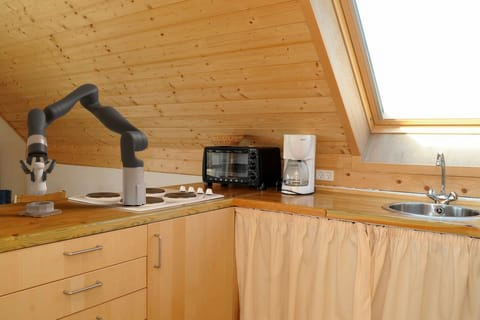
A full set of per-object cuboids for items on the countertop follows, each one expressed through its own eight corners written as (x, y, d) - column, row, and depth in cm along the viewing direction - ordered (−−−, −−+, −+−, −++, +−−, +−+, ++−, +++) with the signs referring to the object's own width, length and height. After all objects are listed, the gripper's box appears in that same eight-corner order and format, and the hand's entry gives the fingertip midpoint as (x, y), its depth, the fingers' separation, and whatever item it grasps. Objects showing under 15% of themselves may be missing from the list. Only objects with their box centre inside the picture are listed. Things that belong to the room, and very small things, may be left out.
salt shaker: (27, 195, 158) (26, 162, 157) (39, 193, 163) (38, 161, 162) (38, 196, 156) (37, 163, 155) (50, 194, 161) (49, 162, 160)
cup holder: (61, 212, 162) (61, 202, 162) (40, 217, 153) (40, 206, 152) (39, 210, 166) (39, 200, 166) (18, 214, 157) (17, 204, 157)
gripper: (55, 153, 173) (58, 185, 163) (18, 154, 166) (18, 187, 156) (56, 142, 168) (58, 174, 158) (17, 142, 161) (17, 175, 151)
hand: (38, 180), depth 157 cm, fingers closed on salt shaker, 3 cm apart
